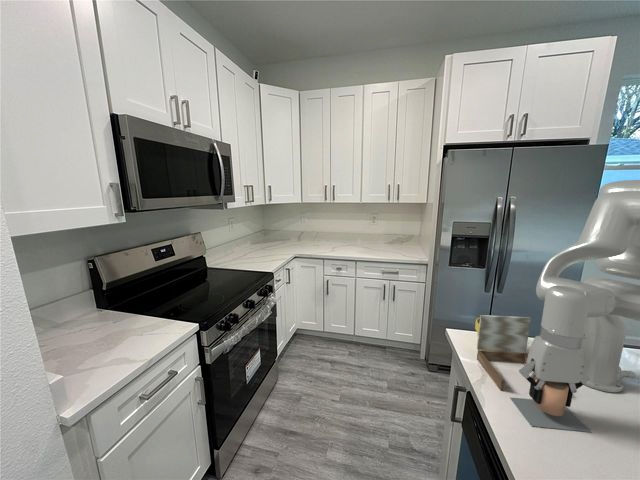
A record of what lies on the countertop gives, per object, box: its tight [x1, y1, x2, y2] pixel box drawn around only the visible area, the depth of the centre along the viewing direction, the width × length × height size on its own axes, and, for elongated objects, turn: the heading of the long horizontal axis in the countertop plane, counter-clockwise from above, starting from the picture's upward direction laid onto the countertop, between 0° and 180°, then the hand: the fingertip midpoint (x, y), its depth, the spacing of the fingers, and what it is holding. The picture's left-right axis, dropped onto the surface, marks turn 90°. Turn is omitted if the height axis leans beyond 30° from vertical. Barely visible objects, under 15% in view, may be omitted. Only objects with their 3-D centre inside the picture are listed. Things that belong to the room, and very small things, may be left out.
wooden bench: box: [476, 314, 534, 392], centre depth 79 cm, size 15×15×16 cm
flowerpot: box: [533, 379, 569, 416], centre depth 65 cm, size 6×6×7 cm
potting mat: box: [509, 396, 592, 433], centre depth 66 cm, size 13×9×1 cm
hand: (549, 400), depth 65 cm, fingers closed on flowerpot, 6 cm apart
